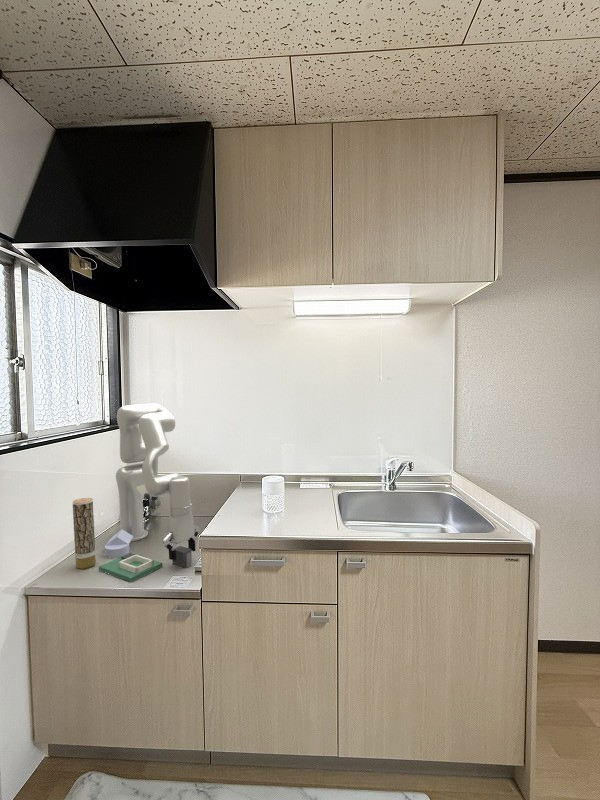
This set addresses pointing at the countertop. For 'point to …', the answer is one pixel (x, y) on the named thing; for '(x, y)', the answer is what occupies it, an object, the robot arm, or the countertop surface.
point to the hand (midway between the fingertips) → (182, 555)
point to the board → (130, 567)
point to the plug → (183, 557)
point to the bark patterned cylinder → (84, 532)
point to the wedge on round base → (118, 544)
